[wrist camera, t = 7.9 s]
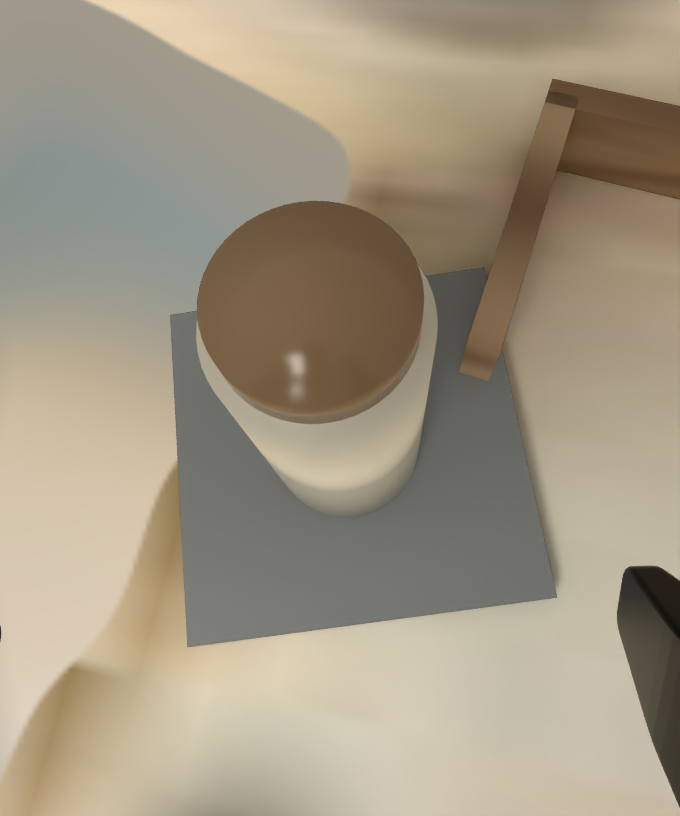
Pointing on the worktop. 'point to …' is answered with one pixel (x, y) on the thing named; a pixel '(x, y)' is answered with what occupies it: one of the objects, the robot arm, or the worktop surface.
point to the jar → (322, 350)
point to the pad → (365, 534)
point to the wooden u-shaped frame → (583, 155)
